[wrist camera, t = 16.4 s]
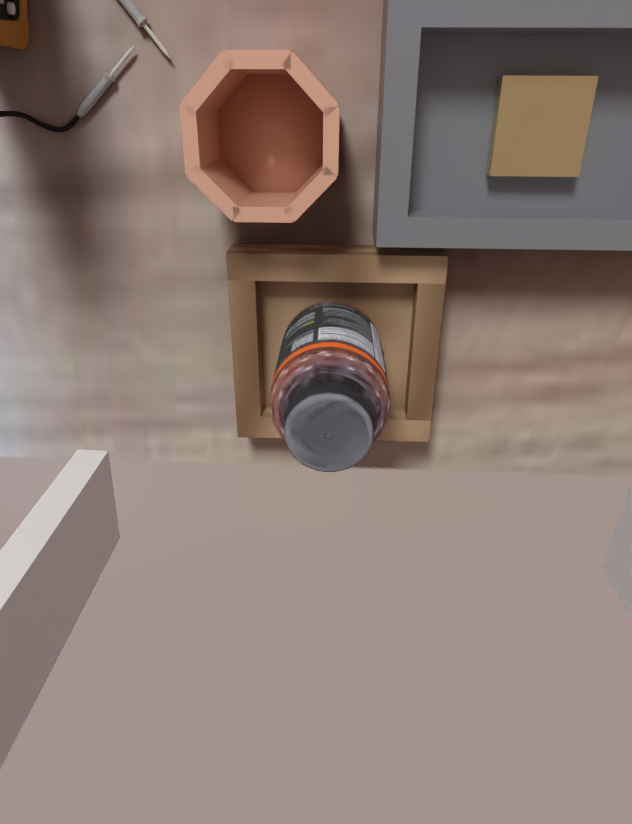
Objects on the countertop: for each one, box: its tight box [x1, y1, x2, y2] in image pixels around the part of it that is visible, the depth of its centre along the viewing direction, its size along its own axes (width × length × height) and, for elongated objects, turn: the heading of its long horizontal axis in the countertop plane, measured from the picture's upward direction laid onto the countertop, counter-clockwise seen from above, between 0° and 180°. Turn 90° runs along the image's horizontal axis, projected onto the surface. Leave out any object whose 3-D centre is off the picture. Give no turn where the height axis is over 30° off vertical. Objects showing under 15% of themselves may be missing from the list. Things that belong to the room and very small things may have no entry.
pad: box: [486, 75, 598, 177], centre depth 30 cm, size 4×4×1 cm
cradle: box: [373, 0, 632, 251], centre depth 30 cm, size 16×11×4 cm
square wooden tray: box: [226, 244, 449, 442], centre depth 36 cm, size 12×12×2 cm
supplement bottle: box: [269, 301, 391, 472], centre depth 31 cm, size 6×6×11 cm
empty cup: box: [180, 50, 340, 223], centre depth 29 cm, size 7×7×6 cm
